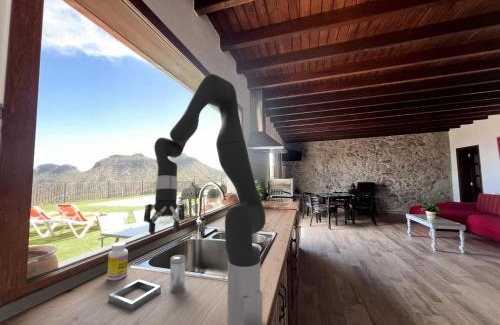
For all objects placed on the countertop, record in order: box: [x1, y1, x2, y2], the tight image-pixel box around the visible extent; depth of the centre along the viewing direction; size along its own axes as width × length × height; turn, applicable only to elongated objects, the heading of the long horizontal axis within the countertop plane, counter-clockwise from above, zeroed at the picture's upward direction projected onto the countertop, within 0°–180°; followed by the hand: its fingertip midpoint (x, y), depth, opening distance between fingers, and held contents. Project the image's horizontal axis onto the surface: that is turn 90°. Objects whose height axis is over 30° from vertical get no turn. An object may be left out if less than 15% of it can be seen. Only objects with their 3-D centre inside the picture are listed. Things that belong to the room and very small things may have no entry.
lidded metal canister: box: [169, 254, 187, 293], centre depth 76 cm, size 5×5×11 cm
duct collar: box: [108, 279, 162, 311], centre depth 71 cm, size 11×11×2 cm
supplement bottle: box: [106, 241, 129, 281], centre depth 84 cm, size 7×7×13 cm
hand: (164, 233), depth 76 cm, fingers open, 8 cm apart
